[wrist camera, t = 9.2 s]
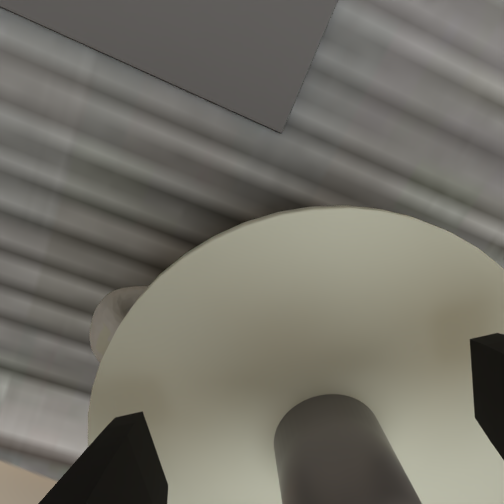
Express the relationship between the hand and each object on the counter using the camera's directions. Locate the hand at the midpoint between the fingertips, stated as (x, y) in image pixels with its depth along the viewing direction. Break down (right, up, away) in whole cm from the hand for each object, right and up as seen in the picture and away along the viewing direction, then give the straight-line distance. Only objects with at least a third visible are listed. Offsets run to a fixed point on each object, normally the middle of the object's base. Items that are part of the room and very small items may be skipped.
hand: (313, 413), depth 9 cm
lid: (+1, -2, +3) cm, 4 cm away
